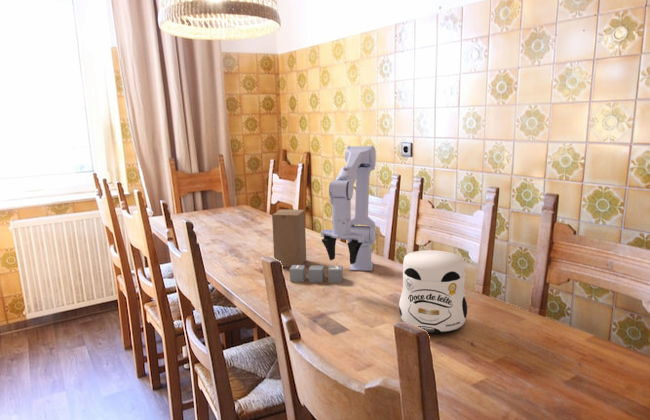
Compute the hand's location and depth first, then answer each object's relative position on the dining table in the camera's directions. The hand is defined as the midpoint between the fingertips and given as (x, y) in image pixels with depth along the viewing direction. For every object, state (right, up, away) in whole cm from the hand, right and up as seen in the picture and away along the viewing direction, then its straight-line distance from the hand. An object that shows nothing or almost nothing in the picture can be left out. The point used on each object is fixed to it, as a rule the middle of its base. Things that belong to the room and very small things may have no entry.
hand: (342, 261), depth 143 cm
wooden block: (-18, -4, +30) cm, 36 cm away
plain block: (-8, -8, +12) cm, 17 cm away
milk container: (+23, -14, -22) cm, 35 cm away
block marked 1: (-15, -8, +13) cm, 21 cm away
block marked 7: (-2, -8, +11) cm, 14 cm away
